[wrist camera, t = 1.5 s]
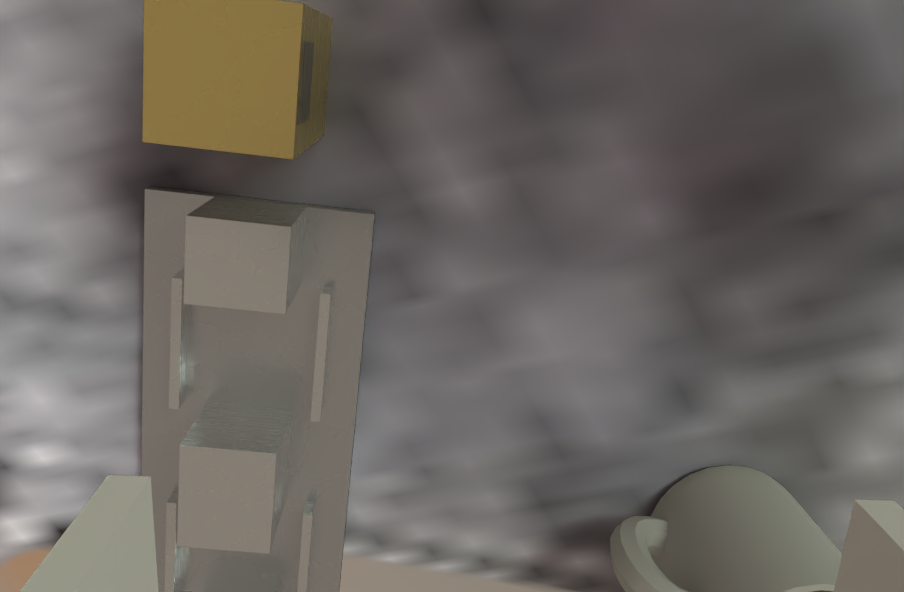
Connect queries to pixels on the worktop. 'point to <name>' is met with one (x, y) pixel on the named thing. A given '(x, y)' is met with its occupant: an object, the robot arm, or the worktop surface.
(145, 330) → the rail
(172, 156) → the worktop surface
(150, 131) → the block
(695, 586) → the cup
